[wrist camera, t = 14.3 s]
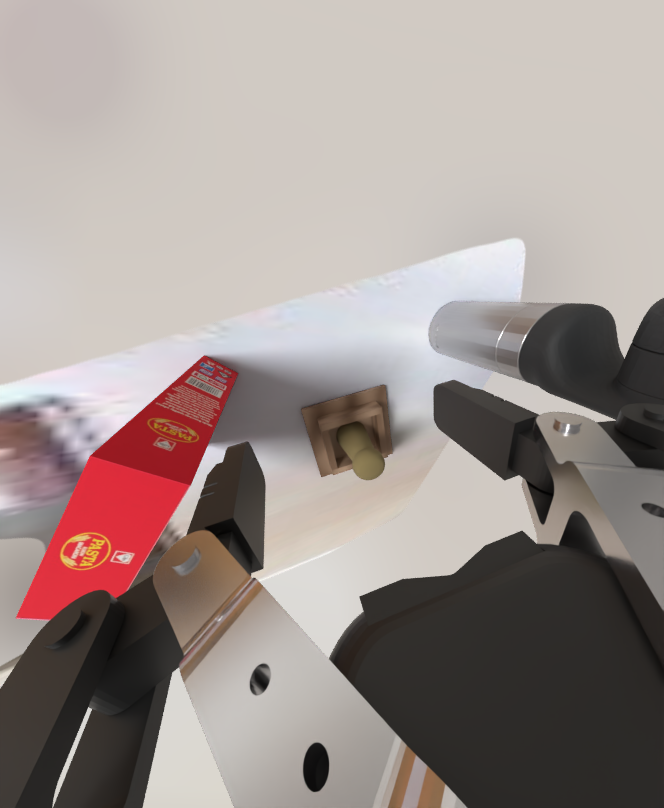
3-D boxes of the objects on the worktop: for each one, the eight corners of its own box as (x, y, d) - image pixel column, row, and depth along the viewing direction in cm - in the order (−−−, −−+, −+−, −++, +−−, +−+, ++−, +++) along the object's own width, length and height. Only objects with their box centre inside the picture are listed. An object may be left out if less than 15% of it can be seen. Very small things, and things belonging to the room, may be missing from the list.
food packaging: (204, 355, 35) (89, 456, 13) (238, 373, 37) (190, 485, 15) (163, 431, 38) (15, 618, 16) (196, 444, 40) (107, 623, 18)
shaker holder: (383, 384, 44) (392, 391, 41) (390, 451, 51) (399, 462, 48) (300, 408, 42) (303, 418, 39) (320, 474, 49) (324, 487, 46)
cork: (348, 452, 48) (368, 492, 38) (329, 435, 45) (346, 473, 35) (371, 433, 47) (397, 468, 37) (353, 414, 44) (377, 447, 34)
